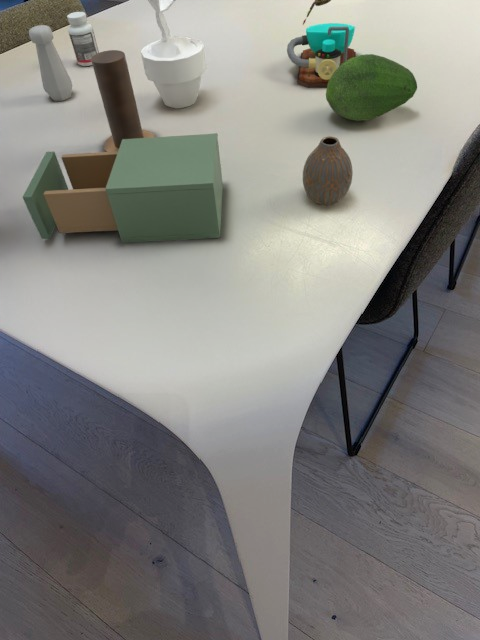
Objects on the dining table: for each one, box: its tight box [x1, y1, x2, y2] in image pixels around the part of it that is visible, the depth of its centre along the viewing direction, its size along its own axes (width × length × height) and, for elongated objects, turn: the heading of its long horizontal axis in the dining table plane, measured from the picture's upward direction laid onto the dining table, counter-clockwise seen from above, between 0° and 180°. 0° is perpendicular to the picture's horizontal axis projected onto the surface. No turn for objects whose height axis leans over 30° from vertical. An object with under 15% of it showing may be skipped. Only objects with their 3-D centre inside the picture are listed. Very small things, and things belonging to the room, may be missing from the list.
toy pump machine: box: [286, 0, 357, 88], centre depth 97 cm, size 14×18×15 cm
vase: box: [302, 136, 354, 206], centre depth 69 cm, size 7×7×9 cm
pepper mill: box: [91, 49, 144, 148], centre depth 81 cm, size 5×5×14 cm
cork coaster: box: [103, 129, 156, 152], centre depth 86 cm, size 9×9×1 cm
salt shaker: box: [28, 24, 73, 102], centre depth 97 cm, size 6×6×13 cm
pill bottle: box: [66, 11, 100, 67], centre depth 110 cm, size 5×5×10 cm
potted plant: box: [140, 0, 208, 109], centre depth 87 cm, size 13×12×25 cm
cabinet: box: [105, 133, 224, 244], centre depth 68 cm, size 14×13×9 cm
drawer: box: [22, 150, 118, 240], centre depth 69 cm, size 14×11×7 cm
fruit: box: [325, 53, 418, 121], centre depth 84 cm, size 15×10×10 cm, turn 90°
